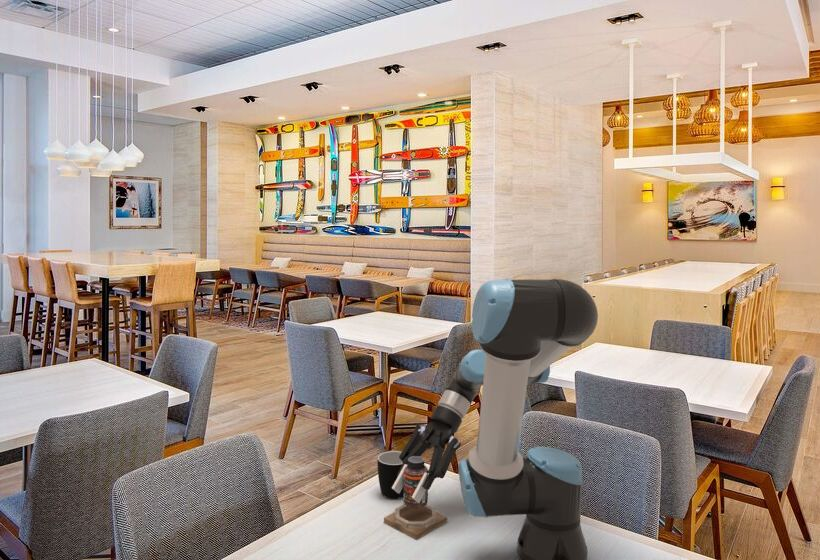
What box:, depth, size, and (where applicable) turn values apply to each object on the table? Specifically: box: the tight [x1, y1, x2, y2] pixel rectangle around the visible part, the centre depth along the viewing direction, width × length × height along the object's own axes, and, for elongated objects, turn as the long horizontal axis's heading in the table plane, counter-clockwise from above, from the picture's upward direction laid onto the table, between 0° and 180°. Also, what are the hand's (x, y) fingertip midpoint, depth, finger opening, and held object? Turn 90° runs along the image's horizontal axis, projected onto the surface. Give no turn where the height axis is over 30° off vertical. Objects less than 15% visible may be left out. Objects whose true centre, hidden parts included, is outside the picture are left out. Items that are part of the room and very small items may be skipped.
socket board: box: [383, 503, 448, 540], centre depth 143 cm, size 11×11×2 cm
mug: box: [377, 450, 404, 500], centre depth 158 cm, size 12×9×10 cm
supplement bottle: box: [403, 456, 429, 508], centre depth 142 cm, size 6×6×11 cm
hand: (405, 495), depth 140 cm, fingers closed on supplement bottle, 6 cm apart
